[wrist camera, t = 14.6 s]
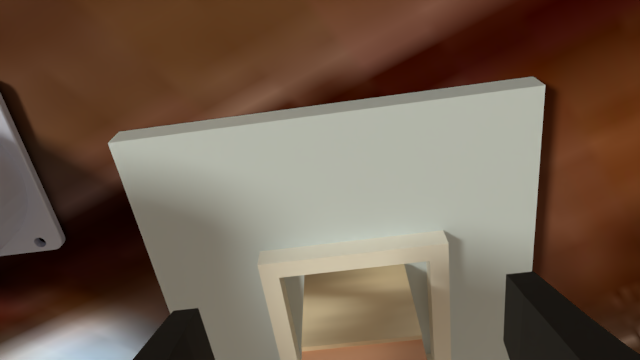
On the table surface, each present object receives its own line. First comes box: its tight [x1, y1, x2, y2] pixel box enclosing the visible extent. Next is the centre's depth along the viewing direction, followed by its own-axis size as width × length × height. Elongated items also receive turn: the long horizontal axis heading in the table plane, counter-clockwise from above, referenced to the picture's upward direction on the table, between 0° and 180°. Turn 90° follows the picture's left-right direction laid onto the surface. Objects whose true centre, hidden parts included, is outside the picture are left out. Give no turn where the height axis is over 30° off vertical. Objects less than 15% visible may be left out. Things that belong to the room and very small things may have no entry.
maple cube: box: [301, 264, 422, 351], centre depth 21 cm, size 4×4×4 cm
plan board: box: [108, 77, 546, 360], centre depth 23 cm, size 17×18×2 cm
